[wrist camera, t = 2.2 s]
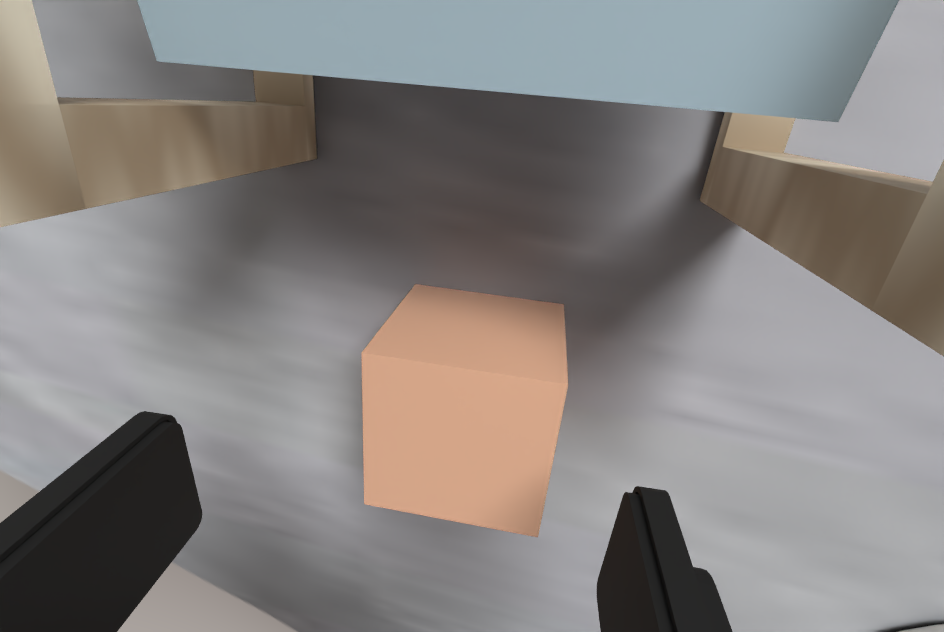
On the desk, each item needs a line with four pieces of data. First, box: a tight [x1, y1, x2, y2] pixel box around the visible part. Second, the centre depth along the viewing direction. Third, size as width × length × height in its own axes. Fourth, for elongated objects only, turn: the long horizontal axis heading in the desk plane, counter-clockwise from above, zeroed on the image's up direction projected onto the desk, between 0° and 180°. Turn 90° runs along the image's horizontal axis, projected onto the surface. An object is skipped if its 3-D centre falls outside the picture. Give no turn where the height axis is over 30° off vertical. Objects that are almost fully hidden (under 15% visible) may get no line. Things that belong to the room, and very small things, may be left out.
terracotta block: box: [362, 284, 568, 537], centre depth 14 cm, size 5×5×5 cm
